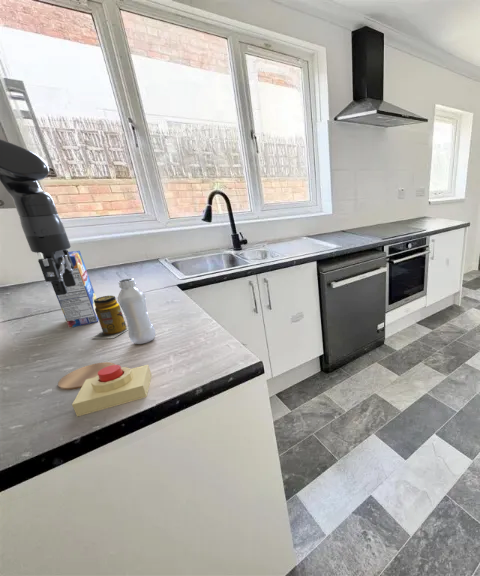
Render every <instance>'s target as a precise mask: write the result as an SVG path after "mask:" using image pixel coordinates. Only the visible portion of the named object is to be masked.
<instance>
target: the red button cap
mask: <svg viewBox="0 0 480 576" xmlns="http://www.w3.org/2000/svg"><path fill="white" fill-rule="evenodd" d="M121 367H122V366H121V365H120V364H115V365H111V366H108V367H105V368H103V369H101V370H100V371H99V372H98V376H99V379H100V381H101V382H108V381H112V380H115V379H117V378H119V377H120V376H122V375H123V372H122V369H121Z"/></svg>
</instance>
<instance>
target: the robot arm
mask: <svg viewBox="0 0 480 576" xmlns="http://www.w3.org/2000/svg"><path fill="white" fill-rule="evenodd" d="M49 173H50V168H49V165H48V163H47V162H46V161H45V160H44V159H43V158H42V157H41V156H39V155H38V154H36V153H34V152H33V151H31V150H29V149H27V148H25V147H23V146H20V145H18V144H15V143H12V142H10V141H7V140H5V139H1V138H0V183H1V184H2V186H3V188H4V189H5V190H6V192H7V193H8V194H9V196H10V197H11V199H12V200H13V205H14V207H15V209H16V212H17V215H18V216H19V221H20V226H21V229H22V231H23V233H24V236H25V239H26V241H27V244H28V247H29V249H30V251H31V252H32V253H41V254H42V257H43V258H39V259H38V260H37V262H38V264H39V267H40V270H41V272H42V275H43V278H44V281H45V282H46V283H47V282H49V283H51V284H50V285H51V286H52V289H53V291H54V294H55V296H56V295H63V294H66V293H67V289H66V287H65V286H67V287H69V286H75V285H76V282H75V279H74V276H73V270H72V269H74V266H73V263H72V261H71V258H70V255H69V253H68V252H69V249H70V248H71V247H72V246H71V243H70V241H69V240H70V239H69V238H68V234H67V232H66V229H65V225H64V222H63V221H62V219H61V217H60V215H59V212H58V210H57V206H56V204H55V201H54V199H53V197H52V195H51V194H50V193H48V192H46V191H44V190H42V188H41V186H40V184H39V183H38V181H42V180H44V179H46V178H47V177H48V175H49ZM53 274H54V276H52V275H53ZM64 283H65V284H64Z"/></svg>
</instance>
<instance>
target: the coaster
mask: <svg viewBox="0 0 480 576" xmlns="http://www.w3.org/2000/svg"><path fill="white" fill-rule="evenodd" d="M111 365H116V363H114V362H111V361H110V362H108V361H105V362H104V361H103V362H96V363H92V364H89V365H85V366H82V367H79V368H77V369H75V370H73V371H71V372H69V373H66V374H65V375H64V376H62V377H61V378H60V380H59V381H58V382H57V385H58V388H59V389H61V390H67V391H69V390H77V389H79V390H80V389H81V388H82V386H83V384H84V382H85V380H86V379H90V378H94V377H96V376H98V372H99V371H100V370H101V369H103V368H105V367H108V366H111Z"/></svg>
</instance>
